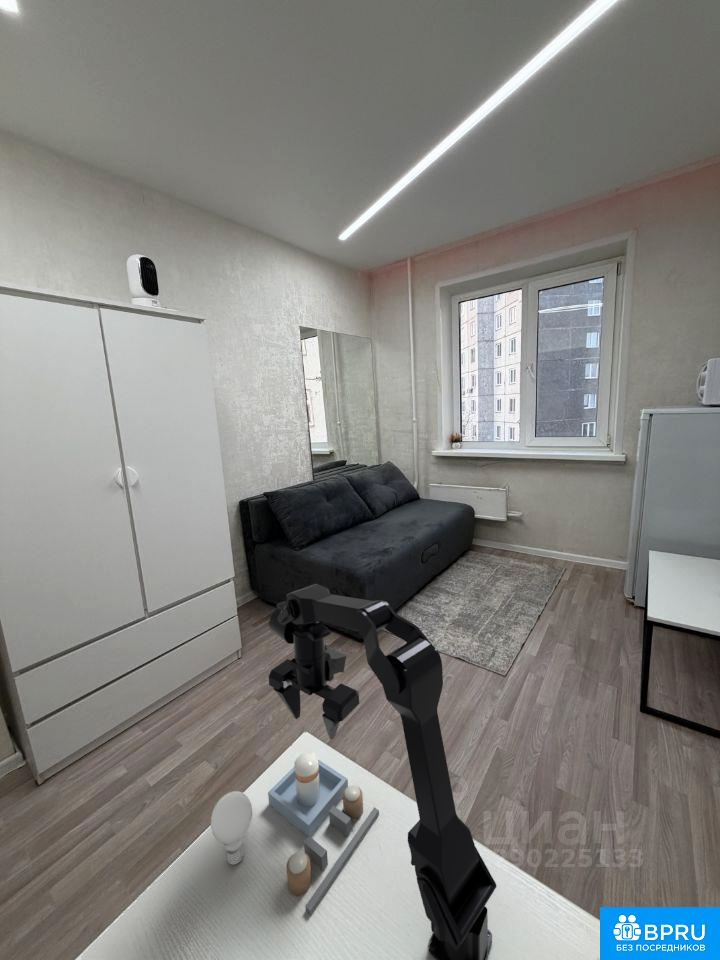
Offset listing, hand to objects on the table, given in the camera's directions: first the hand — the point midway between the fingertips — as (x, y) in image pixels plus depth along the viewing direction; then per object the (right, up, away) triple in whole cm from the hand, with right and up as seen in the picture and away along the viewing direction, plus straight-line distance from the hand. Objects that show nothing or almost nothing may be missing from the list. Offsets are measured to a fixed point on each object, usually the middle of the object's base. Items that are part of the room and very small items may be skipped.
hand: (314, 727), depth 73 cm
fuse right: (+8, -13, -4) cm, 15 cm away
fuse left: (0, -14, -15) cm, 21 cm away
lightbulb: (-11, -14, -11) cm, 22 cm away
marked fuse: (-1, -12, -1) cm, 12 cm away
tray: (-1, -13, -1) cm, 13 cm away
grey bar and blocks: (+5, -13, -10) cm, 17 cm away
